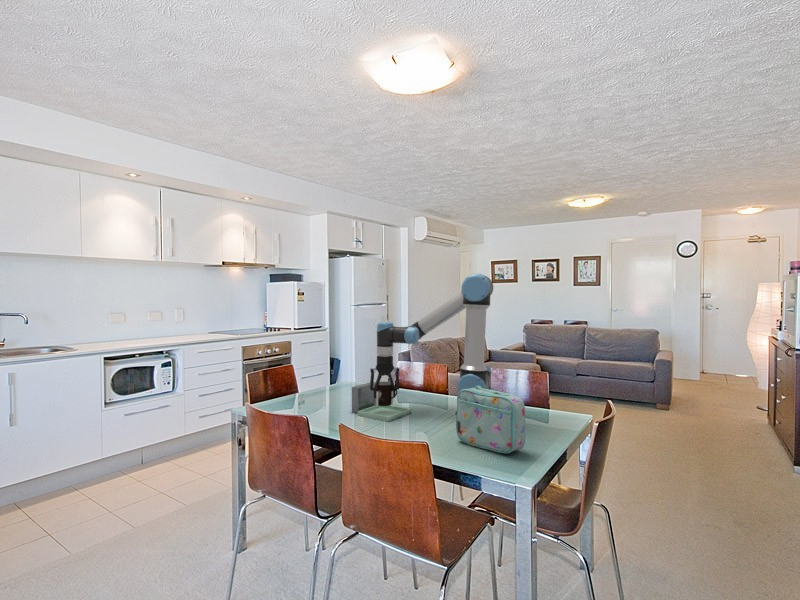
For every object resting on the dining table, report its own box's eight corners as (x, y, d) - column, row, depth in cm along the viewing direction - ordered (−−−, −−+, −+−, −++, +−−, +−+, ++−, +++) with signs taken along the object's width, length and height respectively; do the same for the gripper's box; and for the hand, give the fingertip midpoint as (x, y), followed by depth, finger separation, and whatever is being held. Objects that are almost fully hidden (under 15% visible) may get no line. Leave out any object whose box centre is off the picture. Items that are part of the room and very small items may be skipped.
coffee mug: (372, 403, 209) (372, 382, 209) (388, 401, 213) (388, 380, 213) (381, 409, 199) (381, 387, 198) (398, 407, 202) (398, 385, 202)
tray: (411, 413, 208) (411, 409, 208) (388, 422, 193) (388, 417, 193) (381, 407, 218) (381, 403, 218) (357, 415, 203) (357, 411, 203)
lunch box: (450, 441, 168) (450, 384, 168) (466, 435, 176) (467, 381, 175) (512, 459, 149) (512, 396, 149) (527, 452, 157) (528, 391, 156)
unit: (379, 406, 220) (379, 382, 220) (358, 413, 207) (358, 388, 207) (372, 405, 223) (372, 381, 222) (351, 412, 209) (351, 386, 209)
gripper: (403, 353, 211) (403, 402, 211) (363, 354, 207) (363, 403, 208) (406, 356, 203) (406, 406, 204) (364, 356, 200) (364, 407, 200)
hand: (384, 404), depth 206 cm, fingers closed on coffee mug, 6 cm apart
